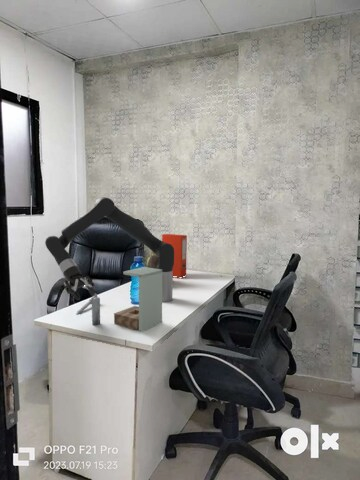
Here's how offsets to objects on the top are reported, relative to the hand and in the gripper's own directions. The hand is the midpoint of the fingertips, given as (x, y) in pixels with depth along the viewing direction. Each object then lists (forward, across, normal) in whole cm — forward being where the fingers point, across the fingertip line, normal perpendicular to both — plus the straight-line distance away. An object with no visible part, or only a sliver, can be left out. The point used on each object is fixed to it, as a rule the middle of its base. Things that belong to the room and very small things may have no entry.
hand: (86, 297), depth 159 cm
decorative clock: (-7, +78, +24) cm, 82 cm away
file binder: (-9, +105, +26) cm, 109 cm away
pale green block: (+25, +12, -9) cm, 30 cm away
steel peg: (+13, 0, +4) cm, 13 cm away
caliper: (-2, +13, +19) cm, 23 cm away
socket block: (+22, +12, -6) cm, 26 cm away
